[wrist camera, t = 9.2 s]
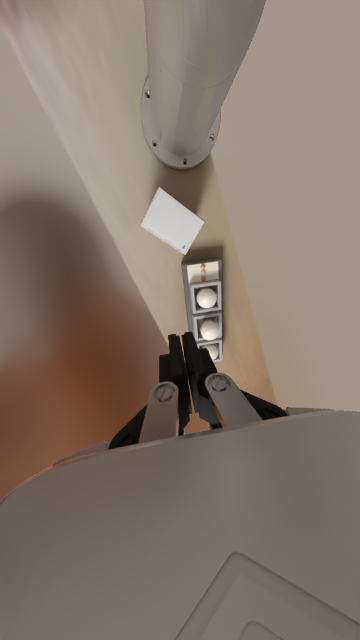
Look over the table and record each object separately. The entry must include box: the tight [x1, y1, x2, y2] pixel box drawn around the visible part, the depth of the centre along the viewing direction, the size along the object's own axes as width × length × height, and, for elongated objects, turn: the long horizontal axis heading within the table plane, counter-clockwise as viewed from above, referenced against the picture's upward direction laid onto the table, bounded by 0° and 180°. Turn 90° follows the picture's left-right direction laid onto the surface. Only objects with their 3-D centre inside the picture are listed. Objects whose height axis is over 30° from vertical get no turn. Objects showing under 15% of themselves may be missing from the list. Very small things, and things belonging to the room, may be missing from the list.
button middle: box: [200, 320, 220, 340], centre depth 38 cm, size 4×4×2 cm
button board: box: [181, 258, 223, 362], centre depth 41 cm, size 24×8×5 cm, turn 7°
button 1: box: [201, 344, 218, 360], centre depth 43 cm, size 4×4×2 cm
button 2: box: [196, 287, 217, 308], centre depth 37 cm, size 4×4×2 cm
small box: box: [140, 187, 205, 255], centre depth 30 cm, size 8×6×10 cm
